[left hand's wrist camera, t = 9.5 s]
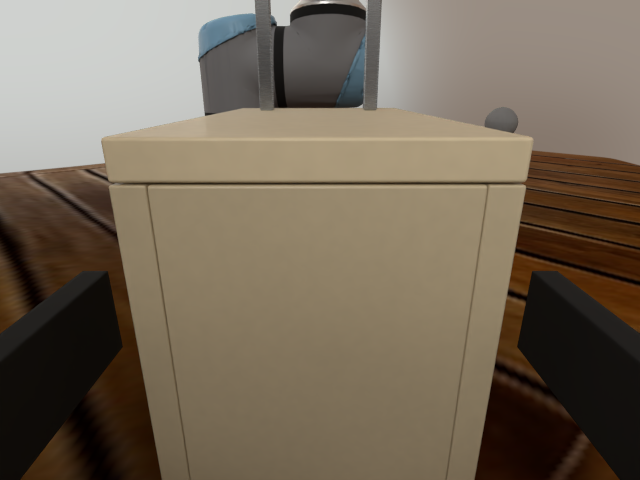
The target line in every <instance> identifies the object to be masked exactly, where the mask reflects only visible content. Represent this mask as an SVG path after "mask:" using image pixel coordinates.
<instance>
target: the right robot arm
mask: <svg viewBox="0 0 640 480" xmlns="http://www.w3.org/2000/svg"><path fill="white" fill-rule="evenodd" d="M365 31H366V8H365V7H364V6H363V5H362V4H361V3H360V2H359V0H300V1H299V2H298V3H297V4H296V5H295V6H294V7H293V9H292V10H291V11H290V26H277V22H276V21H275V18H274V17H273V16H272V15H271V34H272V61H273V88H274V108H353V107H359V106H360V105H362V104H363V90H364V60H365ZM198 38H199V57H198V61H199V62H200V71H201V81H202V91H203V101H204V111H205V116H208V115H213V114H218V113H222V112H227V111H232V110H237V109H241V108H260V95H259V75H258V54H257V34H256V14H240V15H233V16H227V17H222V18H218V19H215V20H212V21H210V22H208V23H206V24H205V25H203V26H202V28H201V29H200V31H199V36H198Z"/></svg>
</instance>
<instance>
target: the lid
mask: <svg viewBox="0 0 640 480" xmlns="http://www.w3.org/2000/svg"><path fill="white" fill-rule="evenodd" d="M381 4H382V0H367V2H366V31H365V60H364V90H363V108H274V88H273V61H272V34H271V7H270V0H255V12H256V34H257V54H258V75H259V95H260V108H241V109H237V110H232V111H227V112H222V113H218V114H213V115H208V116H203V117H198V118H194V119H189V120H184V121H179V122H174V123H170V124H165V125H160V126H155V127H150V128H146V129H141V130H136V131H131V132H127V133H122V134H117V135H112V136H107V137H104V138H102V141H101V142H102V148H103V153H104V159H105V164H106V170H107V175H108V180H109V182H112V183H520V182H525V181H526V179H527V174H528V169H529V163H530V157H531V152H532V146H533V138H531V137H528V136H524V135H519V134H515V133H510V132H505V131H500V130H496V129H491V128H486V127H481V126H477V125H472V124H467V123H462V122H458V121H453V120H448V119H443V118H439V117H434V116H429V115H424V114H420V113H415V112H410V111H406V110H401V109H396V108H377V93H378V71H379V49H380V27H381Z"/></svg>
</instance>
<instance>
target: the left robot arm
mask: <svg viewBox="0 0 640 480" xmlns="http://www.w3.org/2000/svg"><path fill="white" fill-rule="evenodd" d="M122 347H123V346H122V341H121V336H120V331H119V326H118V321H117V316H116V311H115V306H114V301H113V296H112V291H111V285H110V280H109V275H108V271H82V272H81V273H80V274H79V275H77V276H76V277H75V278H73V279H72V280H71V281H69V282H68V283H67V284H65V285H64V286H63V287H61V288H60V289H59V290H57V291H56V292H55V293H53V294H52V295H51V296H50V297H48V298H47V299H46V300H44V301H43V302H42V303H40V304H39V305H38V306H36V307H35V308H34V309H32V310H31V311H30V312H28V313H27V314H26V315H24V316H23V317H22V318H21V319H19V320H18V321H17V322H15V323H14V324H13V325H11V326H10V327H9V328H7V329H6V330H5V331H3V332H2V333H1V334H0V480H20V479H21V478H22V476H23V475H24V474H25V473H26V471H27V470H28V469H29V467H30V466H31V465H32V463H33V462H34V461H35V460H36V458H37V457H38V456H39V454H40V453H41V452H42V451H43V449H44V448H45V447H46V445H47V444H48V443H49V441H50V440H51V439H52V438H53V436H54V435H55V434H56V432H57V431H58V430H59V429H60V427H61V426H62V425H63V423H64V422H65V421H66V419H67V418H68V417H69V416H70V414H71V413H72V412H73V410H74V409H75V408H76V407H77V405H78V404H79V403H80V401H81V400H82V399H83V397H84V396H85V395H86V394H87V392H88V391H89V390H90V388H91V387H92V386H93V385H94V383H95V382H96V381H97V379H98V378H99V377H100V375H101V374H102V373H103V372H104V370H105V369H106V368H107V366H108V365H109V364H110V363H111V361H112V360H113V359H114V357H115V356H116V355H117V353H118V352H119V351H120V350H121V348H122ZM517 347H518V348H519V350H520V351H521V352H522V353H523V355H524V356H525V357H526V359H527V360H528V361H529V363H530V364H531V365H532V366H533V368H534V369H535V370H536V372H537V373H538V374H539V375H540V377H541V378H542V379H543V381H544V382H545V383H546V385H547V386H548V387H549V388H550V390H551V391H552V392H553V394H554V395H555V396H556V397H557V399H558V400H559V401H560V403H561V404H562V405H563V407H564V408H565V409H566V410H567V412H568V413H569V414H570V416H571V417H572V418H573V419H574V421H575V422H576V423H577V425H578V426H579V427H580V429H581V430H582V431H583V432H584V434H585V435H586V436H587V438H588V439H589V440H590V441H591V443H592V444H593V445H594V447H595V448H596V449H597V451H598V452H599V453H600V454H601V456H602V457H603V458H604V460H605V461H606V462H607V463H608V465H609V466H610V467H611V469H612V470H613V471H614V473H615V474H616V475H617V476H618V478H619V479H620V480H640V334H639V333H638V332H637V331H635V330H634V329H633V328H631V327H630V326H629V325H627V324H626V323H625V322H623V321H622V320H621V319H619V318H618V317H617V316H616V315H614V314H613V313H612V312H610V311H609V310H608V309H606V308H605V307H604V306H602V305H601V304H600V303H598V302H597V301H596V300H594V299H593V298H592V297H590V296H589V295H588V294H587V293H585V292H584V291H583V290H581V289H580V288H579V287H577V286H576V285H575V284H573V283H572V282H571V281H569V280H568V279H567V278H565V277H564V276H563V275H561V274H560V273H559V272H558V271H532V275H531V280H530V285H529V291H528V296H527V301H526V306H525V311H524V316H523V321H522V326H521V331H520V336H519V341H518V346H517Z"/></svg>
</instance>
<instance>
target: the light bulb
mask: <svg viewBox="0 0 640 480" xmlns="http://www.w3.org/2000/svg"><path fill="white" fill-rule="evenodd" d="M517 125H518V118H517V115H516V114H515V113H514V111H513V110H511V109H509V108H505V107H501V108H497V109H495V110H493V111H492V112H491V113H490V114H489V115H488V116H487V118H486V120H485V127H486V128H491V129H496V130H500V131H505V132H510V133H514V131H515V130H516V128H517Z"/></svg>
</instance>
